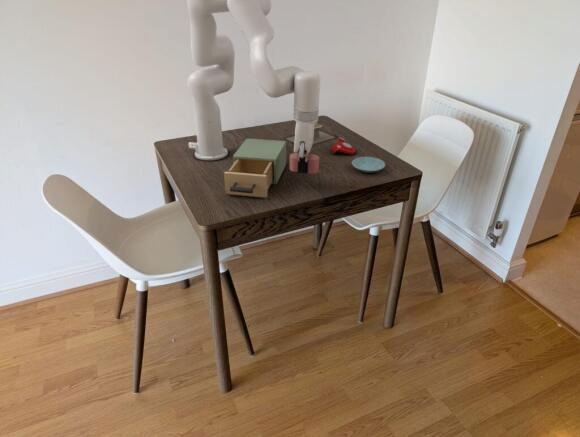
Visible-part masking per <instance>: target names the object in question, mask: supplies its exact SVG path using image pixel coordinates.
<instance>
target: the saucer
mask: <svg viewBox="0 0 580 437" xmlns="http://www.w3.org/2000/svg"><path fill="white" fill-rule="evenodd" d="M351 165H352V166H353V168H354V169H356V170H357V171H360V172H361V173H366V174H373V173H376V172H379V171H381V170H383V169H384V168H385V166H386V163H385V162H384V161H383V160H381V159H380V158H377V157H374V156H360V157H356V158H354V159H353V160H352V161H351Z"/></svg>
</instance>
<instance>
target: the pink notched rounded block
mask: <svg viewBox="0 0 580 437" xmlns="http://www.w3.org/2000/svg"><path fill="white" fill-rule="evenodd" d="M298 156H299V152H297V153H295V152H293V153H290V154H289V171H291V172H293V173H298ZM304 156H306V155H304ZM307 161H308V173H307V174H310V175H312V174H317V173H318V172H319V168H320V167H319V166H320V156H319V155H317V154H314V153H310V154H308V158H307Z"/></svg>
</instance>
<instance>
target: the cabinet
mask: <svg viewBox="0 0 580 437" xmlns="http://www.w3.org/2000/svg"><path fill="white" fill-rule="evenodd" d="M237 159H249V160H262V161H274V179H273V181H272V183H271V185H277V184H278V182H279V180H280V178H281V176H282V173H283V172H284V170H285V168H286V166H287V141H286V140H275V139H274V140H273V139H262V138H249V137H248V138H246V139H245V140H244V141H243V142H242V143H241V145H240V146H239V147H238V149H237V150H236V151H235V152H234V154H233V155H232V165H233V164H234V163H235V161H236V160H237Z"/></svg>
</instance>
